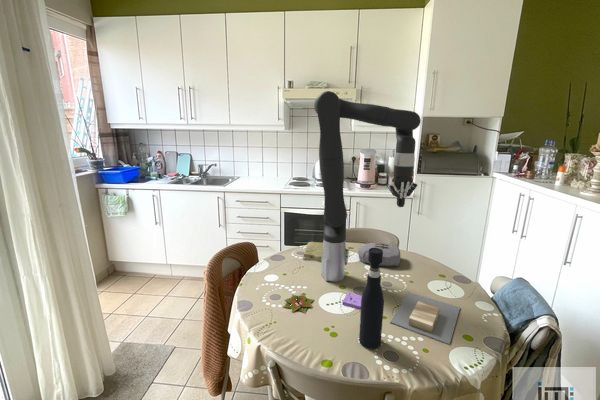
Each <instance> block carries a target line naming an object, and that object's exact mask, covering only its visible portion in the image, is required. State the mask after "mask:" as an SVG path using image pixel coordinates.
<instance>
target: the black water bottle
mask: <svg viewBox="0 0 600 400" xmlns="http://www.w3.org/2000/svg"><path fill="white" fill-rule="evenodd" d="M382 258H383V250H381V249H379V248H370V249H369V254H368V261H369V262H370V264H369V268H368V270H367V271H368V274H367V276H366V277H367V278H366V285H365V286H364V289H363V291H362V295H361V296H362V298H361V309H360V319H359V333H358V338H359V339H358V340H359V341H358V342H359V343H360V346H362V347H364V348H365V349H368V350H377V349H379V348H380V346H381V344H382V331H383V319H384V305H385V299H384V293H383V289H382V287H381V286H382V285H381V281H382V278H381V277H382V276H381V269H380V267H381V266H379V265H380V264H381V263H382Z"/></svg>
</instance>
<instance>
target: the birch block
mask: <svg viewBox="0 0 600 400" xmlns="http://www.w3.org/2000/svg"><path fill="white" fill-rule="evenodd" d="M439 309H440V307H439V306H436V305H432V304H429V303H426V302H423V301H420V300H418V302H417V304H416V306H415V308H414V310H413V312H412V313H411V315H410V317H409V325H411V326H414V327H417V328H420V329H422V330H425V331H428V332H432V330H433V327H434V325H435V322H436V320H437V317H438V314H439Z"/></svg>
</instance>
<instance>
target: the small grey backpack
mask: <svg viewBox="0 0 600 400" xmlns="http://www.w3.org/2000/svg"><path fill="white" fill-rule="evenodd" d="M370 248H379V249H381V250H383V258H382V263H381V264H380V265H379V267H399V265H400V262H401V250H400V247H399V246H396V245H393V244H392V245H391V244H386V243H382V242H370V243H369V242H368V243H365V244H363V245H360V247H359V248H358V250H357V255H358V258H359V261H361V262H362V263H366V264H368V265H370V262H369V261H368V254H369V249H370Z"/></svg>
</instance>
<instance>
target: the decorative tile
mask: <svg viewBox="0 0 600 400" xmlns="http://www.w3.org/2000/svg"><path fill="white" fill-rule="evenodd" d="M346 250H347V245H345V252H347V251H346ZM322 254H323V242H317V241H308V243H307V244H306V248H305V249H304V253H303V256H302V258H303V259H302V260H304V261H315V262H320V263H321V258H322Z"/></svg>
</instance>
